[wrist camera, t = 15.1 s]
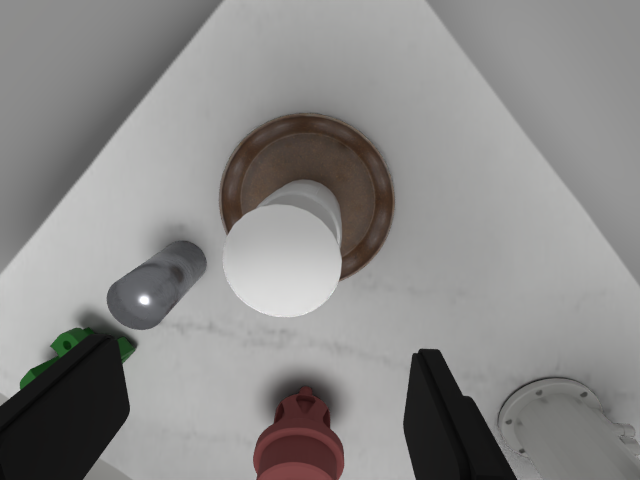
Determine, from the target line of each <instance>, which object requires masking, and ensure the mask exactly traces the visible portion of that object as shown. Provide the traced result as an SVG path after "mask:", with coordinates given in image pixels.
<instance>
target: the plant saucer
mask: <svg viewBox="0 0 640 480" xmlns="http://www.w3.org/2000/svg"><path fill="white" fill-rule="evenodd" d="M301 179H304V180H313V181H316V182H318V183H321V184H322V185H324V186H325V187H327V188H328V189H329V190H330V191H331V192H332V193H333V194H334V196H335V197H336V199H337V201H338V203H339V207H340V212H341V222H342V240H341V248H340V253H341V258H342V264H341V275H340V278H339V281H342V280H344V279H346V278H348V277H350V276H352V275H354V274H355V273H357V272H358V271H360V270H361V269H362V268H364V267H365V266H366V265H367V264H368V263H369V262H370V261H371V260H372V259H373V258H374V257H375V256H376V254H377V253H378V252H379V250H380V249H381V247H382V246H383V244H384V242H385V240H386V238H387V236H388V234H389V231H390V228H391V225H392V221H393V216H394V208H395V196H394V187H393V182H392V178H391V175H390V172H389V169H388V167H387V165H386V162H385V161H384V159H383V157H382V156H381V154H380V152H379V151H378V150H377V148H376V147H375V146H374V145H373V143H372V142H371V141H370V140H369V139H368V138H367V137H366V136H364V135H363V134H362V133H361V132H360V131H358V130H357V129H355V128H354V127H352V126H350V125H348V124H346V123H345V122H343V121H340V120H338V119H335V118H332V117H329V116H325V115H320V114H311V113H299V114H292V115H286V116H282V117H279V118H276V119H273V120H271V121H269V122H266V123H265V124H263V125H261V126H259V127H258V128H256V129H255V130H254V131H252V132H251V133H250V134H248V135H247V136H246V137H245V138H244V139H243V140H242V141H241V142H240V144H239V145H238V146H237V147H236V149H235V150H234V152H233V153H232V155H231V156H230V158H229V160H228V162H227V164H226V167H225V169H224V172H223V175H222V179H221V183H220V190H219V208H220V215H221V219H222V223H223V226H224V229H225V232H226V234H227V235H228V234H229V232H230V230H231V229H232V227H233V226H234V224H235V223H236V222H237V221H239V220H240V219H241V218H242V217H243V216H244V215H245V214H246V213H248V212H250V211H252V210H254V209H256V208H257V206H258V205H259V204H260V203H261V202H262V201H263V200H264V199H265V198H267V197H268V196H269V195H271V194H272V193H273V192H275V191H276V190H278V189H280V188H282V187H283V186H284V185H286V184H288V183H290V182H292V181H296V180H301ZM339 281H338V282H339Z"/></svg>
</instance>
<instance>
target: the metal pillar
mask: <svg viewBox="0 0 640 480" xmlns="http://www.w3.org/2000/svg"><path fill="white" fill-rule="evenodd" d="M205 270H206V258H205V255H204V253H203V252H202V251H201V249H200V248H199V247H197V246H196V245H194V244H193V243H190V242H187V241H177V242H174V243H172V244H170V245H169V246H167V247H166V248H164V249H163V250H162V251H160V252H159V253H157V254H156V255H154V256H153V257H151V258H150V259H148V260H147V261H146V262H144V263H143V264H141V265H140V266H138V267H137V268H135V269H134V270H132V271H131V272H130V273H128V274H127V275H125V276H124V277H122V278H121V279H119V280H118V281H116V282H115V283H114V284H113V285H112V286H111V287H110V289H109V291H108V293H107V304H108V308H109V310H110V312H111V314H112V315H113V316H114V317H115V319H116V320H118V321H119V322H120V323H121V324H123V325H125V326H127V327H129V328H132V329H137V330H145V329H150V328H153V327H155V326H156V325H158V324H159V323H160V322H161V321H162V319H163V318H164V317H165V316H166V315H167V314H168V313H169V312H170V311H171V309H172V308H173V307H174V306H175V305H176V304H177V303H178V302H179V301H180V299H181V298H182V297H183V296H184V295H185V294H186V293H187V292H188V291H189V290H190V288H191V287H192V286H193V285H194V284H195V283H196V282H197V281H198V280H199V278H200V277H201V276H202V275H203V274H204V272H205Z"/></svg>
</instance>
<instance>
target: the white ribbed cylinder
mask: <svg viewBox="0 0 640 480" xmlns="http://www.w3.org/2000/svg"><path fill="white" fill-rule="evenodd" d="M341 240H342V222H341V212H340V207H339V203H338V201H337V199H336V197H335V196H334V194H333V193H332V192H331V191H330V190H329V189H328V188H327V187H325V186H324V185H322V184H321V183H318V182H316V181H313V180H304V179H301V180H296V181H292V182H290V183H288V184H286V185H284V186H283V187H282V188H280V189H278V190H276V191H275V192H273V193H272V194H271V195H269V196H268V197H267V198H265V199H264V200H263V201H262V202H261V203H260V204H259V205H258V206H257V208H256V209H254V210H252V211H250V212H248V213H246V214H245V215H244V216H243V217H242V218H241V219H240V220H239V221H237V222H236V223H235V224H234V226H233V227H232V229H231V230H230V232H229V234H228V235H227V237H226V241H225V244H224V248H223V268H224V272H225V275H226V279H227V281H228V283H229V284H230V286H231V288H232V289H233V291H234V293H235V294H236V295H237V296H238V297H239V298H240V299H241V300H242V301H243V302H244V303H245V304H247V305H248V306H250V307H252V308H253V309H255V310H256V311H258V312H261V313H264V314H267V315H270V316H275V317H286V318H287V317H294V316H301V315H304V314H306V313H308V312H311V311H313V310H315V309H317V308H318V307H319V306H321V305H322V304H323V303H325V302H326V301H327V300H328V298H329V297H330V296H331V294H332V293H333V292H334V290H335V289H336V286H337V284H338V281H339V278H340V275H341V264H342V258H341V253H340V248H341Z"/></svg>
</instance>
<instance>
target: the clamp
mask: <svg viewBox="0 0 640 480" xmlns="http://www.w3.org/2000/svg"><path fill="white" fill-rule="evenodd" d="M90 334H95V333H94V332H93V331H92V330H91V329H90V328H89V327H88V328H86V329H84V330H82V329H80V328H74V329H72V330H69V331H67V332H64V333H62V334H60V335H59V336H58V338H57V339H56V340H55V341H54V342H53V343H52V345H51V346H50V347H52V348H53V349H54V350H55V351H56V352H57V354H58V355H59V356H57V357H55V358H53V359H51V360H49V361H47V362H45V363H43V364H41V365H38V366H36V367H34V368H32V369H30V370H29V371H28V373H27V374H26V375H25V376H24V377H23V378H22V380H21V381H20V390H21V389H22V388H24V387H25V386H26V385H27V384H29V383H30V382H31V381H32V380H34V379H35V378H36V377H37V376H38V375H40V374H41V373H42V372H43V371H45V370H46V369H47V368H48V367H50V366H51V365H52V364H53V363H55V362H56V361H57V360H58V359H60V358H61V357H62V356H63V355H64V354H66V353H67V352H68V351H69V350H71V349H72V348H73V347H74V346H76V345H77V344H78V343H79V342H81V341H82V340H83V339H84V338H85V337H87V336H88V335H90ZM117 341H118V343H119V348H120V354H121V359H122V364H123V363H124V362H125V361H126V360H127V359H128V358H129V356H130V355H131V354H132V353H133V352H134V351H135V348H134V347H133V346H132V345H131V344H130V343H129V342H128V340H127V339H126V338H125V337H121V338H119V339H117Z"/></svg>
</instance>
